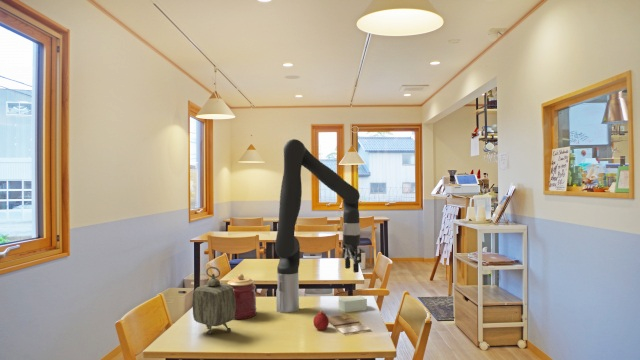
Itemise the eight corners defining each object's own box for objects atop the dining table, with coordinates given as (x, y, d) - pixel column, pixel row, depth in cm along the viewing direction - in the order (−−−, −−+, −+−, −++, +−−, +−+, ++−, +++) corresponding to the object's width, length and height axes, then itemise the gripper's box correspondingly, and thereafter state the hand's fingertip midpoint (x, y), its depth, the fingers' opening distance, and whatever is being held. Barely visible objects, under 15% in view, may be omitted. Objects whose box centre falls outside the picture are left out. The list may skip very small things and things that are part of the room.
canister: (253, 319, 180) (252, 277, 180) (222, 319, 180) (221, 277, 180) (258, 310, 193) (258, 270, 193) (229, 310, 193) (229, 270, 193)
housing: (344, 314, 185) (344, 301, 185) (339, 310, 191) (338, 298, 191) (366, 311, 189) (366, 298, 189) (360, 307, 194) (360, 295, 194)
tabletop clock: (235, 331, 166) (234, 266, 166) (219, 339, 158) (218, 271, 158) (208, 325, 173) (207, 263, 173) (190, 332, 166) (189, 267, 166)
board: (345, 338, 158) (345, 334, 158) (322, 320, 178) (322, 316, 178) (372, 333, 162) (372, 330, 162) (347, 316, 182) (347, 313, 182)
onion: (320, 327, 169) (320, 307, 169) (332, 331, 165) (331, 310, 165) (310, 332, 164) (310, 311, 164) (322, 335, 161) (322, 313, 161)
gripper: (337, 231, 195) (337, 267, 195) (350, 235, 181) (350, 274, 181) (352, 230, 197) (352, 266, 197) (366, 234, 184) (367, 272, 184)
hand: (351, 270), depth 189 cm, fingers open, 8 cm apart
